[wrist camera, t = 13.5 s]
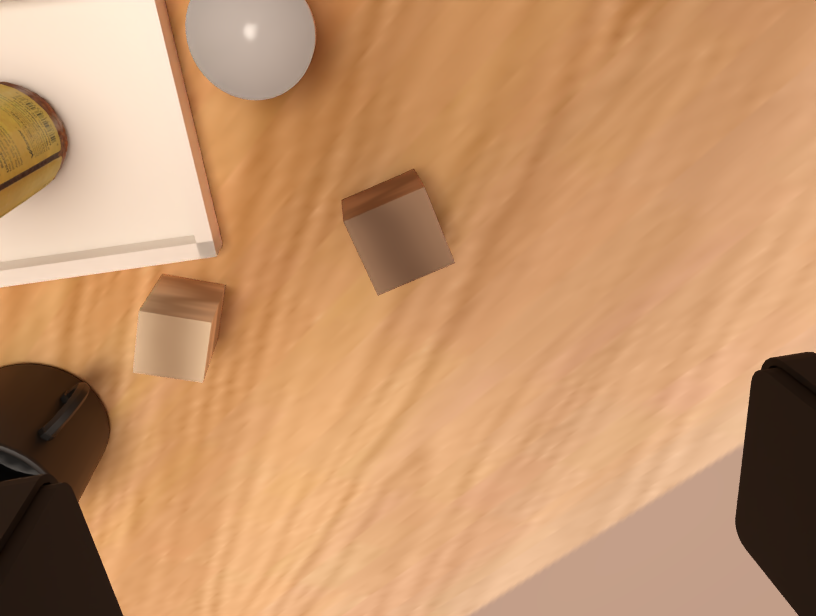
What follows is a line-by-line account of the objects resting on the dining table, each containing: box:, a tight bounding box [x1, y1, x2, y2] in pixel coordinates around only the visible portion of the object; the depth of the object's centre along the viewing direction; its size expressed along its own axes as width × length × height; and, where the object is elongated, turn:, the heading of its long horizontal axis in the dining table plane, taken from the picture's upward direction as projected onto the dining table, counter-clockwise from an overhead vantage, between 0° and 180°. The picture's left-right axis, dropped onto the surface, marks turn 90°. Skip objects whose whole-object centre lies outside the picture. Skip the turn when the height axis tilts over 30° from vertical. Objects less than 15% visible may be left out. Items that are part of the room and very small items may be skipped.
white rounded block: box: [185, 0, 316, 100], centre depth 35 cm, size 6×6×7 cm
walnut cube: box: [342, 169, 455, 295], centre depth 41 cm, size 5×5×5 cm
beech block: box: [133, 274, 226, 383], centre depth 41 cm, size 4×4×6 cm
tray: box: [0, 0, 223, 287], centre depth 37 cm, size 20×16×2 cm
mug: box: [0, 364, 109, 501], centre depth 41 cm, size 9×12×9 cm
